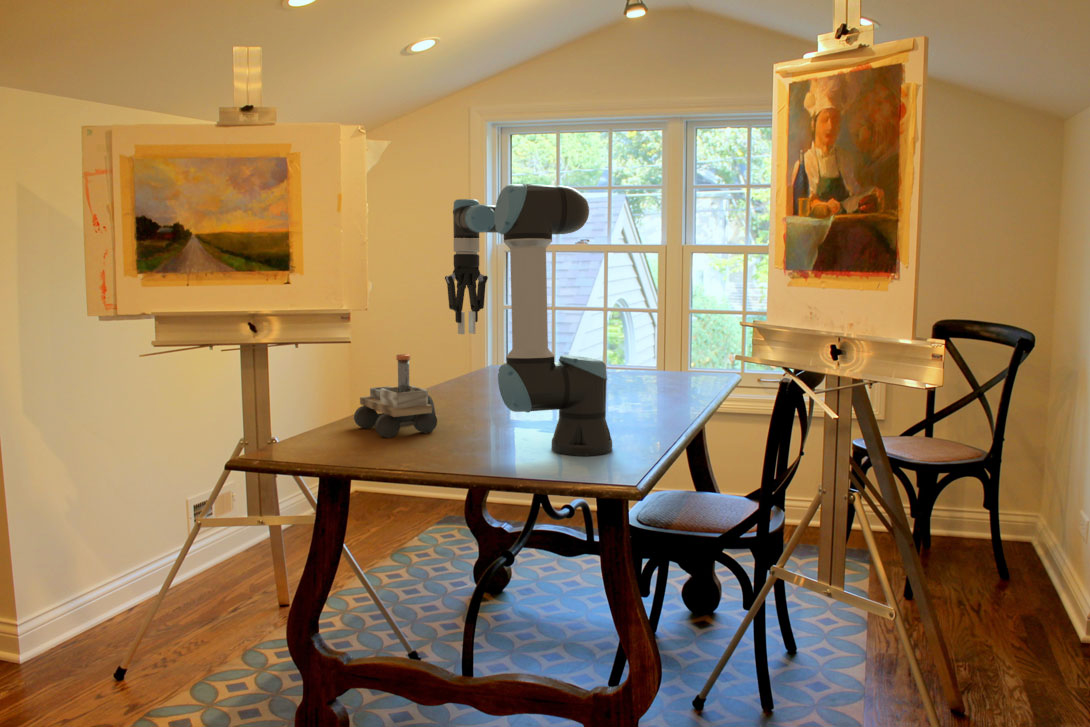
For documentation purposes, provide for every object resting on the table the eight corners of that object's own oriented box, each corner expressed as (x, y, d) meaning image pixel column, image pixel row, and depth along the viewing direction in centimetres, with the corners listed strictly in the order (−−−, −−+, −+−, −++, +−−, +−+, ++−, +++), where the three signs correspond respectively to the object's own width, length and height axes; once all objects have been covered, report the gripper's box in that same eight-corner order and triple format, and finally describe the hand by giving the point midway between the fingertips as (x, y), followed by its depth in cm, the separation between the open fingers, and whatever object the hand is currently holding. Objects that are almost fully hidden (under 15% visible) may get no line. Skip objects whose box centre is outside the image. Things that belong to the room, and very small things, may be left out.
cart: (442, 433, 235) (441, 389, 234) (383, 441, 226) (382, 395, 224) (405, 420, 253) (405, 379, 252) (350, 426, 244) (349, 383, 242)
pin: (413, 404, 234) (412, 355, 232) (400, 405, 231) (400, 356, 230) (407, 402, 236) (406, 353, 235) (395, 403, 234) (394, 354, 233)
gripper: (483, 253, 263) (483, 331, 266) (435, 253, 253) (436, 333, 257) (496, 253, 256) (496, 333, 260) (448, 253, 247) (448, 336, 250)
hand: (466, 333), depth 258 cm, fingers open, 3 cm apart
